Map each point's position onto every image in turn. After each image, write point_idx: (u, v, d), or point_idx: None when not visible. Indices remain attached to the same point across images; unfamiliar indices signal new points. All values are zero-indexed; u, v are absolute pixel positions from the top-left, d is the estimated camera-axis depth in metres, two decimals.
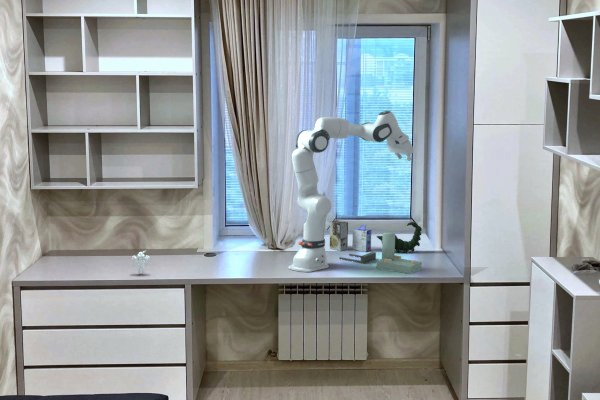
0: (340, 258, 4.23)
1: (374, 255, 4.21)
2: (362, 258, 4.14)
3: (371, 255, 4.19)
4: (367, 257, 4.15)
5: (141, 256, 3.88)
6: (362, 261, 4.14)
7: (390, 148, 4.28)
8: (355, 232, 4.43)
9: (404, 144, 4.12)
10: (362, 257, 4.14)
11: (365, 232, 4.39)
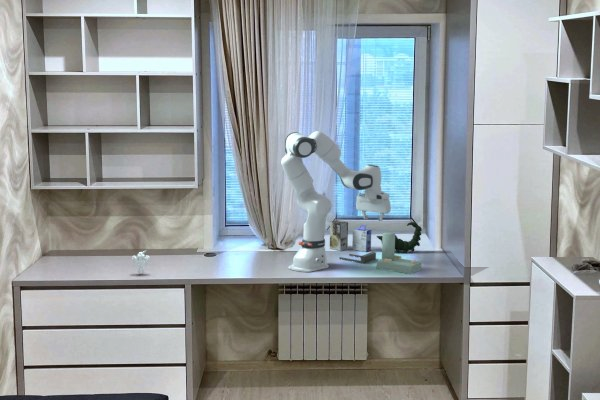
0: (340, 258, 4.23)
1: (374, 255, 4.21)
2: (362, 258, 4.14)
3: (371, 255, 4.19)
4: (367, 257, 4.15)
5: (141, 256, 3.88)
6: (362, 261, 4.14)
7: (359, 205, 4.17)
8: (355, 232, 4.43)
9: (385, 201, 4.07)
10: (362, 257, 4.14)
11: (365, 232, 4.39)
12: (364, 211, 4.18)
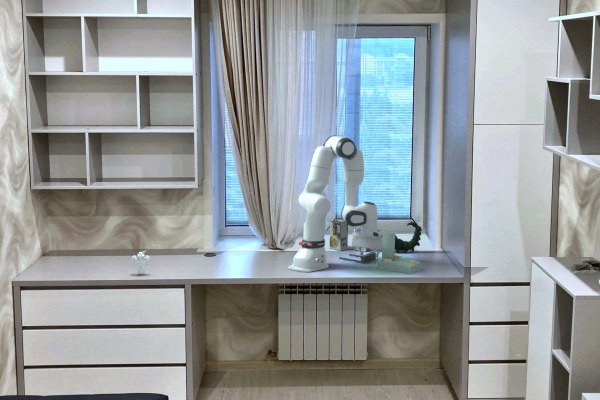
0: (340, 258, 4.23)
1: (374, 255, 4.21)
2: (362, 258, 4.14)
3: (371, 255, 4.19)
4: (367, 257, 4.15)
5: (141, 256, 3.88)
6: (362, 261, 4.14)
7: (355, 242, 4.20)
8: None
9: None
10: (362, 257, 4.14)
11: None
12: (360, 247, 4.21)
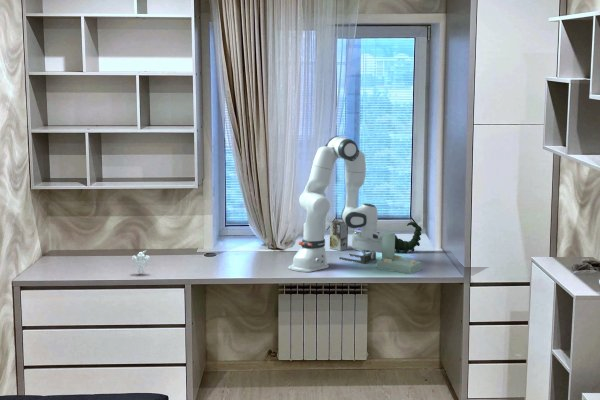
0: (340, 258, 4.23)
1: (374, 255, 4.21)
2: (362, 258, 4.14)
3: None
4: (367, 257, 4.15)
5: (141, 256, 3.88)
6: (362, 261, 4.14)
7: (355, 244, 4.20)
8: None
9: None
10: (362, 257, 4.14)
11: None
12: (364, 250, 4.19)
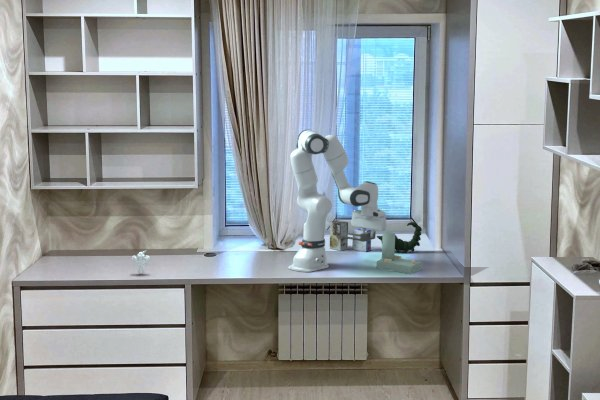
0: (339, 236, 4.20)
1: (374, 234, 4.19)
2: (362, 236, 4.11)
3: None
4: (367, 235, 4.13)
5: (141, 256, 3.88)
6: (361, 239, 4.12)
7: (355, 222, 4.18)
8: (355, 232, 4.43)
9: (382, 218, 4.08)
10: (362, 235, 4.11)
11: None
12: (364, 228, 4.17)
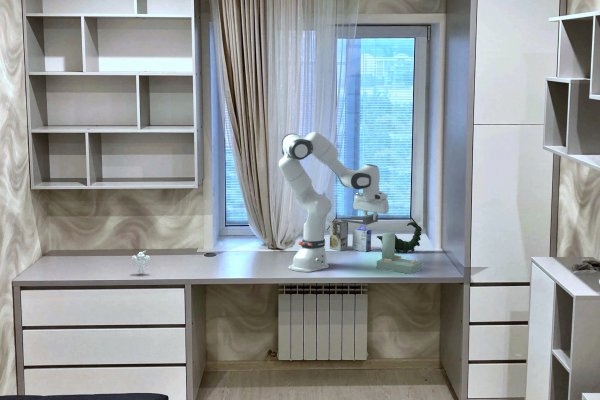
0: (342, 220, 4.19)
1: (376, 217, 4.17)
2: (364, 219, 4.10)
3: None
4: (369, 218, 4.11)
5: (141, 256, 3.88)
6: (364, 222, 4.10)
7: (357, 205, 4.16)
8: (355, 232, 4.43)
9: (384, 201, 4.06)
10: (364, 218, 4.10)
11: (365, 232, 4.39)
12: (366, 211, 4.15)
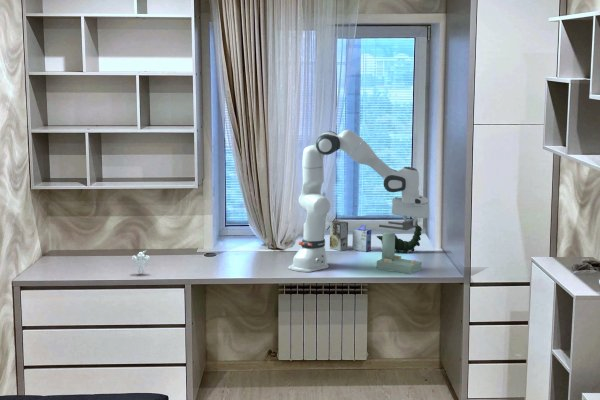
0: (380, 226, 4.01)
1: (416, 221, 4.00)
2: (404, 224, 3.92)
3: None
4: (409, 223, 3.94)
5: (141, 256, 3.88)
6: (404, 228, 3.93)
7: (395, 210, 3.99)
8: (355, 232, 4.43)
9: (424, 205, 3.89)
10: (404, 223, 3.92)
11: (365, 232, 4.39)
12: (405, 216, 3.97)
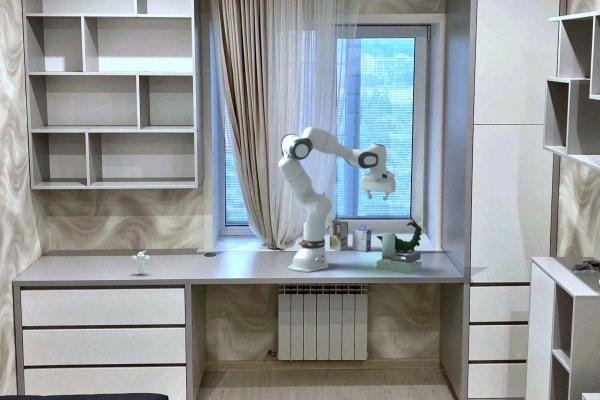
0: (383, 257, 4.02)
1: (419, 254, 4.01)
2: (407, 257, 3.93)
3: (416, 254, 3.98)
4: (412, 256, 3.94)
5: (141, 256, 3.88)
6: (407, 260, 3.93)
7: (364, 185, 4.15)
8: (355, 232, 4.43)
9: (391, 180, 4.06)
10: (407, 256, 3.93)
11: (365, 232, 4.39)
12: (368, 191, 4.16)
